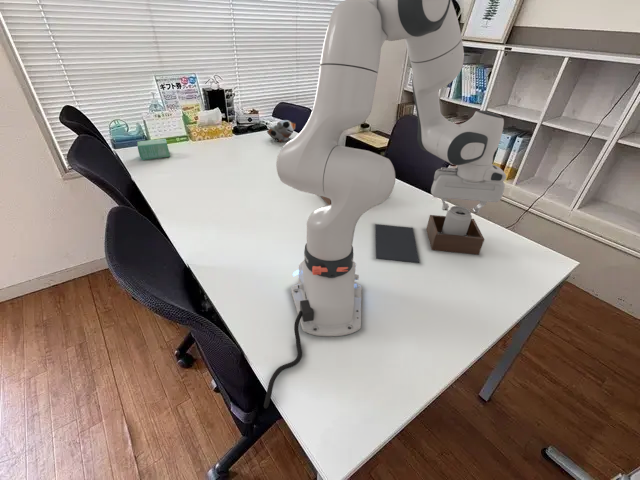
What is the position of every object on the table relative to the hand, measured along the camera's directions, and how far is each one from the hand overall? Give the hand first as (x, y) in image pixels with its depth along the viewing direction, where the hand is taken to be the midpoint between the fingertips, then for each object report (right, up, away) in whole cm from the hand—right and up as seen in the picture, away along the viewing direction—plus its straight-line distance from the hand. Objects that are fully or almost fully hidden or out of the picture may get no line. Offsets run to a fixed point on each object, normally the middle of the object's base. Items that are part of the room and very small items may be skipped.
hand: (459, 211), depth 103 cm
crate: (0, -10, +6) cm, 11 cm away
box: (-127, +33, +62) cm, 145 cm away
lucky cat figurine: (-67, +51, +93) cm, 125 cm away
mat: (-19, -10, +4) cm, 22 cm away
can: (0, -10, +6) cm, 12 cm away
